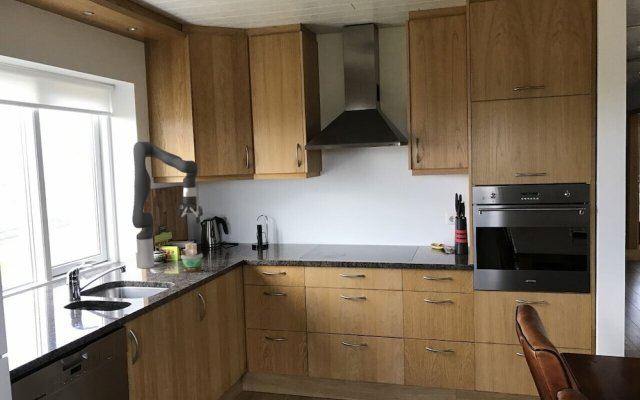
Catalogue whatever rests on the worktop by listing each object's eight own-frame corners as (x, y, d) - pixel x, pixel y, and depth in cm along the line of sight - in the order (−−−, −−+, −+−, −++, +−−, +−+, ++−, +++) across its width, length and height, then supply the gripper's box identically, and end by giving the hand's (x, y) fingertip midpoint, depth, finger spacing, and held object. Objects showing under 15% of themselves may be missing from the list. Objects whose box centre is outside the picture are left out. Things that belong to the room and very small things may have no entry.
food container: (181, 274, 293) (180, 256, 292) (181, 271, 299) (180, 254, 298) (204, 272, 296) (203, 254, 296) (203, 269, 302) (202, 252, 302)
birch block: (185, 255, 295) (185, 244, 295) (189, 253, 300) (189, 243, 299) (193, 255, 294) (192, 244, 294) (197, 253, 299) (196, 243, 298)
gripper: (175, 196, 299) (176, 224, 301) (198, 196, 296) (199, 224, 297) (181, 194, 306) (183, 222, 308) (204, 194, 303) (205, 222, 304)
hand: (191, 223), depth 303 cm, fingers open, 8 cm apart
